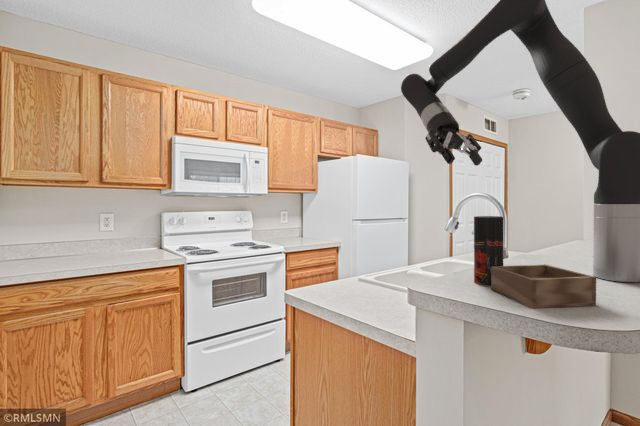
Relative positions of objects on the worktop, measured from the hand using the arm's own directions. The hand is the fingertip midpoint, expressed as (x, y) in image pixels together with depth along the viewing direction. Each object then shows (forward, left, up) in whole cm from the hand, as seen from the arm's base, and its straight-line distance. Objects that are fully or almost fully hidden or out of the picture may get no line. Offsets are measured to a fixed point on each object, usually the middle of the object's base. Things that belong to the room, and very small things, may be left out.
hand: (465, 162), depth 86 cm
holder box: (-3, +22, -28) cm, 36 cm away
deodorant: (0, +10, -28) cm, 30 cm away
